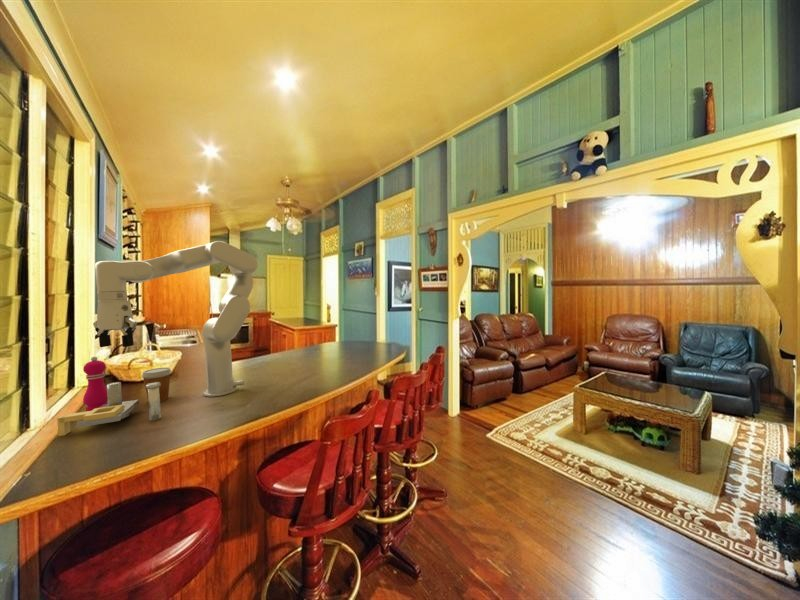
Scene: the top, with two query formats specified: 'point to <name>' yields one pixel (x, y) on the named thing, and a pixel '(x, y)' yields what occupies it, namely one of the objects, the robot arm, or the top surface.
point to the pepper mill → (95, 384)
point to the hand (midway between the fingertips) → (116, 346)
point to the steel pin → (154, 401)
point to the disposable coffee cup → (158, 380)
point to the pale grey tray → (113, 400)
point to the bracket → (86, 417)
